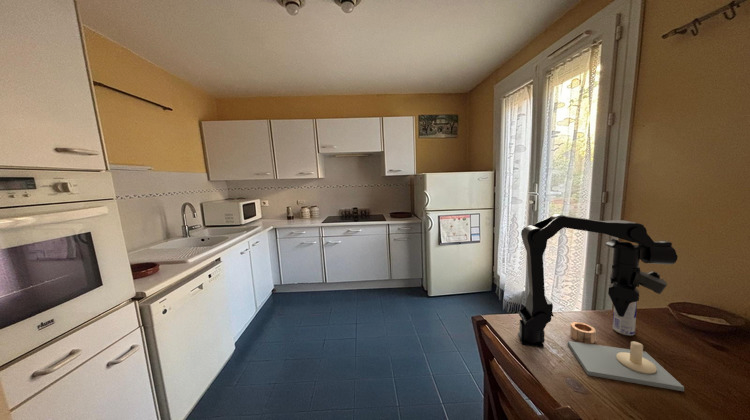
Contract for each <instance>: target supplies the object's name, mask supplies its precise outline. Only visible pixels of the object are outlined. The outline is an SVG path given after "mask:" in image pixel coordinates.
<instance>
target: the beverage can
mask: <svg viewBox="0 0 750 420" xmlns="http://www.w3.org/2000/svg"><path fill="white" fill-rule="evenodd" d="M637 305H638V301H637V302H632V303H630V304H629V306H628V308H627V310H626V313H625V315H624V317H621V316H619V315H618V313H617V311H616V309H615V307H614V306H613V314H612V329H613V330H614V331H615V332H617V334H618V333H619V334H621V335H623V336H634V335H635V334H636V322H637V321H636V319H637Z"/></svg>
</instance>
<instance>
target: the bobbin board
mask: <svg viewBox="0 0 750 420" xmlns="http://www.w3.org/2000/svg"><path fill="white" fill-rule="evenodd" d="M567 346H568V347H569V349H570V350H571V352H572V354H573V355H574V356H575V359H577V361H578V362H579V364H580V366H581V367H582V369H583V370H584V372H585V373H586V374H587V376H591V377H596V378H603V379H609V380H615V381H619V382H620V381H621V382H626V383H633V384H638V385H642V386H643V385H645V386H650V387H655V388H660V389H668V390H673V391H678V392H679V391H680V392H685V386H684V385H682V383H681V382H680V381H679V380H677V379H676V378H675V377H674V376H673V375H672V374H671V373H670V372H668V371H667V370H666V369H665V368H664V367H663V366H662V365H661V364H660V363H658V361H656V360H655V359H654V358H653V357H652V356H651V355H650V354H649V353H648V352H646V351H644V345H643V344H642V343H640V342H638V341H630V347H629V348H630V349H629V348H621V347H614V346H609V345H600V344H595V343H594V344H587V343H581V342H578V341H571V340H567Z"/></svg>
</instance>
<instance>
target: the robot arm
mask: <svg viewBox="0 0 750 420" xmlns="http://www.w3.org/2000/svg"><path fill="white" fill-rule="evenodd" d="M562 229H570V230H571V229H572V230H577V231H585V232H590V233H598V234H604V235H607V236H610V237H614V238H612V239H610V240H609V241H607V242H606V243H604V244H605V246H607V247H610V248H611V249H613V252H612V263H611V272H610V279H609V280H610V284H609V285H608V291H607V292H608V296H609V298H610V300H611V302H612V304H613V308H614V307H615V309H616V311H617V313H618V315H619V316H621V317H624V315H625V313H626V310H627V308H628V306H629V304H630V303H632V302H637V303H638V302H639V300H640V290H638V289H637V287H638V288H639V287H640V286H641V287H644V288H646V289H647V290H651V291H653V292H654V293H656V294H658V295H661V294H662V293H663V291H664V290H665V289H666V287H667V286H668V284H667V281H666V280H664V279H663V278H661V276H660V275H661V274H660V273H658V272H656V271H654V270H651V271H649V272H646V271H642V270H641V268H640V262H642V263H644V264H648V265H649V264H652V265H654V264H655V265H669V266H670V265H674V264H676V262H677V261H678V257H679V256H678V254H677V251H676V250H675V248H674V247H673V243H672V242H671V241H667V240H658V241H656V240H653V239H652V238H651V237H650V234H648V230H647V228H646V227H645V225H644V224H641V223H638V222H634V221H629V220H623V219H620V220H619V219H617V220H615V219H614V220H613V219H610V220H598V219H597V220H596V219H592V218H591V219H590V218H583V217H576V216H570V215H562V214H559V213H555V214H552V215H550V216H549V217H546V218H544V219H543V220H540V221H537V222H535V223H534V224H532V225H527V226H524V228H523V229H522V230H521V232H520V233H521V234H520V235H521V238H522V242H523V245H524V249H525V251H526V254H527V256H526V257H527V272H528V273H527V274H528V294H527V296H526V298H525V304H524V306H523V307H522V308H520V309H519V310H518V311H517V313H518V316H519V317H520V318H521V319H519V332H517V334H518V338H519V340H520V343H521V344H522V345H523V346H530V347H531V346H532V347H537V348H545V345H544V343H545V328H546V326H547V324H549V323H551V321H552V317H553V318H554V317H555V316H554V314H553V310H554V309H553V307H554V306H553V303H552V302H551V300H550V299H548V297H547V296H546V292H545V290H546V289H545V273H544V272H545V271H544V270H545V269H544V253H545V251H546V248H547V245H548V240H549V239H551V238H553V237H555V235H556V234H558V233H559V232H560V231H561V230H562ZM615 238H617V239H615ZM618 239H621V240H623V241H620V240H618ZM633 243H634V244H633Z"/></svg>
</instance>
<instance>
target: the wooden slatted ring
mask: <svg viewBox="0 0 750 420" xmlns="http://www.w3.org/2000/svg"><path fill="white" fill-rule="evenodd" d="M596 333H597V332H596V329H595V328H594V327H593V326H591V325H590V324H587V323H584V322H579V321H575V322H571V323H570V337H571V338H572V339H573V340H574V341H575V342H579V343H587V344H594V345H595V343H596Z"/></svg>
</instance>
